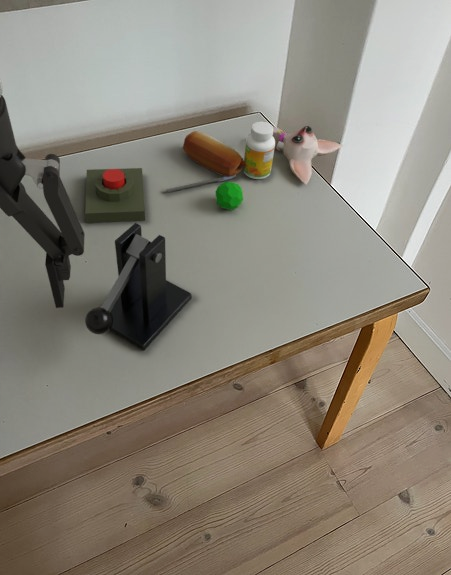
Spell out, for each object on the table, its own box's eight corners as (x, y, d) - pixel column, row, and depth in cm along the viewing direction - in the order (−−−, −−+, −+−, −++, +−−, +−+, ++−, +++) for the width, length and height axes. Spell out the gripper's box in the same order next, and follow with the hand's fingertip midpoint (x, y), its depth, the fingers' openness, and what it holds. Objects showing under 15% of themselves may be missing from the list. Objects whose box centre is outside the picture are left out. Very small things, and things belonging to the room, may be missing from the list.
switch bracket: (143, 351, 82) (139, 281, 71) (95, 322, 84) (82, 251, 73) (191, 298, 89) (194, 227, 78) (145, 273, 91) (141, 201, 80)
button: (103, 177, 101) (102, 169, 100) (124, 176, 102) (123, 168, 100) (103, 190, 99) (102, 182, 97) (124, 189, 99) (124, 181, 98)
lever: (108, 341, 77) (96, 337, 73) (88, 328, 78) (75, 324, 74) (161, 249, 78) (151, 241, 75) (140, 238, 79) (130, 230, 76)
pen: (166, 189, 104) (236, 173, 109) (166, 189, 105) (235, 174, 109) (168, 193, 104) (237, 177, 109) (167, 194, 105) (236, 178, 109)
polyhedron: (213, 196, 105) (215, 175, 101) (240, 196, 106) (242, 175, 102) (215, 215, 102) (217, 194, 98) (243, 215, 102) (245, 194, 99)
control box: (88, 179, 106) (85, 161, 103) (142, 177, 107) (141, 159, 104) (86, 223, 98) (83, 205, 95) (145, 220, 100) (144, 202, 97)
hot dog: (230, 165, 104) (247, 150, 106) (175, 136, 109) (192, 122, 111) (231, 185, 108) (247, 170, 110) (178, 156, 113) (195, 142, 115)
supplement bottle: (237, 169, 111) (241, 125, 103) (257, 159, 113) (263, 115, 106) (255, 183, 108) (261, 139, 101) (276, 173, 111) (283, 129, 103)
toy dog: (285, 90, 115) (350, 124, 111) (278, 121, 121) (339, 154, 117) (244, 126, 107) (312, 164, 103) (239, 158, 114) (303, 194, 110)
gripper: (-227, 133, 38) (-104, 337, 55) (97, 127, 41) (120, 322, 58) (-190, 76, 43) (-87, 279, 60) (98, 74, 46) (118, 268, 63)
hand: (15, 300), depth 59 cm, fingers open, 8 cm apart
